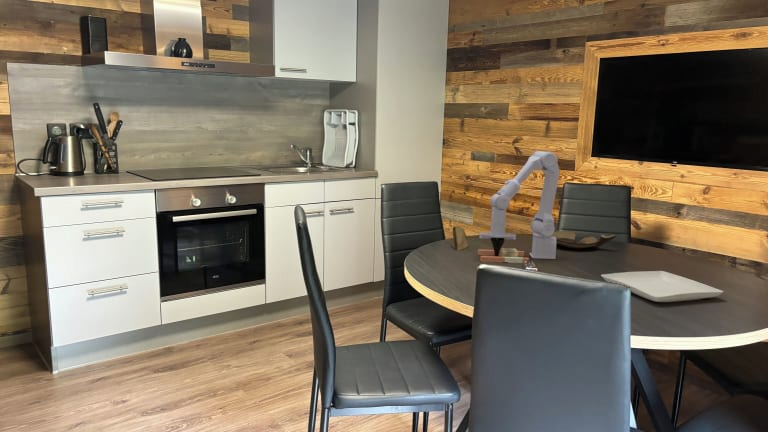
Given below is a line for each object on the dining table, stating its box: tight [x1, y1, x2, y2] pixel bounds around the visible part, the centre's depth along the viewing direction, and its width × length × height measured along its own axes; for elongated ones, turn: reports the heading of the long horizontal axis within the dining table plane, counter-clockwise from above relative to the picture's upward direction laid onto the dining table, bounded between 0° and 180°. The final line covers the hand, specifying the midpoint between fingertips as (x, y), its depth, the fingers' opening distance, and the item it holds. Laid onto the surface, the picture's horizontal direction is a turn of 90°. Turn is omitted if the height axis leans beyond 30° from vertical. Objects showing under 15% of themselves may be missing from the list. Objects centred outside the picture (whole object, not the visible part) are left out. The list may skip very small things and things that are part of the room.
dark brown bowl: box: [551, 230, 617, 249], centre depth 254 cm, size 22×30×8 cm
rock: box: [452, 225, 470, 251], centre depth 249 cm, size 11×9×10 cm
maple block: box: [500, 247, 519, 257], centre depth 230 cm, size 6×6×4 cm
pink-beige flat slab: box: [477, 249, 530, 264], centre depth 231 cm, size 19×13×2 cm
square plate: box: [600, 270, 725, 303], centre depth 190 cm, size 27×27×4 cm
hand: (496, 255), depth 231 cm, fingers closed
